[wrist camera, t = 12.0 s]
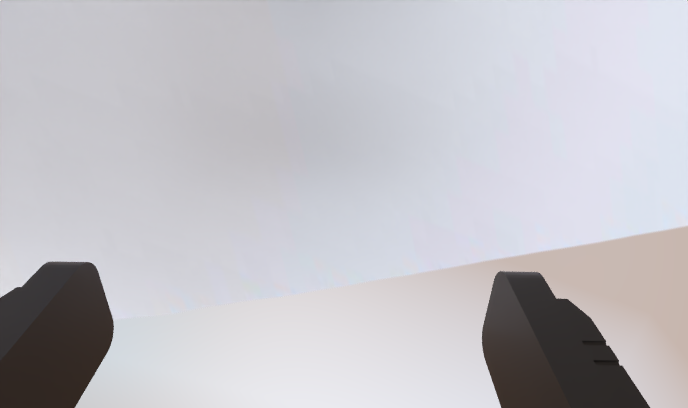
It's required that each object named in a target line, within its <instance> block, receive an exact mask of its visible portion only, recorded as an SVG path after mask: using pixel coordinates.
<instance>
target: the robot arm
mask: <svg viewBox="0 0 688 408" xmlns="http://www.w3.org/2000/svg"><path fill="white" fill-rule="evenodd" d="M113 327H114V326H113V319H112V315H111V312H110V309H109V306H108V302H107V299H106V296H105V293H104V289H103V286H102V283H101V280H100V277H99V273H98V271H97V269H96V267H95V266H94V265H93V264H92V263H89V262H48V263H46V264H44V265H43V266H42V267H41V268H40V269H39V270H38V271H37V272H36V273H35V274H34V275H33V276H32V277H31V278H30V279H29V280H28V281H27V282H26V283H25V284H24V285H23V286H22V287H17V288H15V289H14V290H12V291H10V292H9V293H7V294H6V295H4V296H2V297H1V298H0V408H75V406H76V404H77V403H78V401H79V399H80V398H81V396H82V394H83V393H84V391H85V389H86V387H87V386H88V384H89V382H90V381H91V379H92V377H93V376H94V374H95V372H96V370H97V369H98V367H99V365H100V364H101V362H102V360H103V359H104V357H105V355H106V354H107V352H108V350H109V348H110V345H111V342H112V338H113V330H114V328H113ZM482 346H483V353H484V357H485V360H486V364H487V366H488V370H489V372H490V375H491V378H492V381H493V384H494V387H495V390H496V393H497V396H498V399H499V402H500V405H501V408H650V407H649V405H648V404H647V402H646V401H645V399H644V398H643V396H642V395H641V393H640V392H639V390H638V389H637V387H636V386H635V384H634V383H633V381H632V380H631V378H630V377H629V375H628V374H627V372H626V371H625V369H624V368H623V366H620V365H619V360H618V359H617V357H616V356H615V354H614V353H613V351H612V350H611V348H610V347H609V346H606V341H605V339H604V338H603V336H602V335H601V333H600V332H599V330H598V329H597V327H596V325H595V324H594V322H593V321H592V319H591V318H590V317H589V316H587V315H586V314H585V313H584V312H583V311H581V310H580V309H579V308H578V307H577V306H575V305H574V304H573V303H572V302H570V301H569V300H568V299H556V298H555V296H554V294H553V293H552V291H551V290H550V288H549V286H548V284H547V283H546V281H545V279H544V278H543V277H542V275H541V274H540V273H538V272H501V271H500V272H498V273H497V275H496V276H495V279H494V283H493V287H492V291H491V296H490V300H489V304H488V308H487V313H486V317H485V321H484V325H483V331H482Z"/></svg>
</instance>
